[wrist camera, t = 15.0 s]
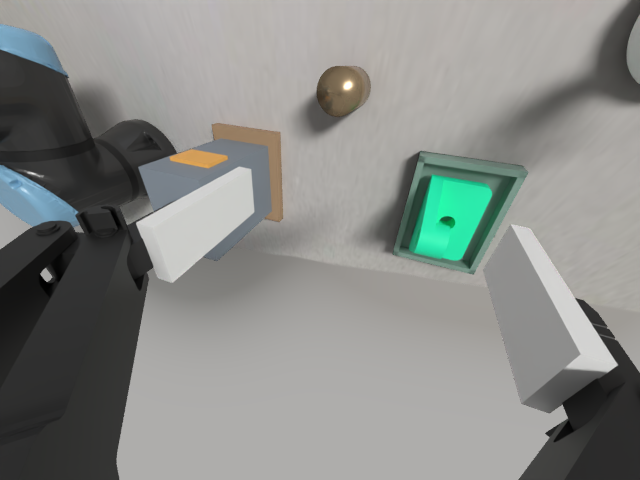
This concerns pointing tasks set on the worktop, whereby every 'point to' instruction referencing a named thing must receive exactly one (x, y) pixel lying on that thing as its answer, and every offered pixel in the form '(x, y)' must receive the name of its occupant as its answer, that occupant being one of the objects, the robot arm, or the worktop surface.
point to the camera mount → (457, 202)
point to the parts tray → (504, 190)
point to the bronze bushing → (343, 89)
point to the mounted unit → (213, 162)
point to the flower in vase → (634, 51)
